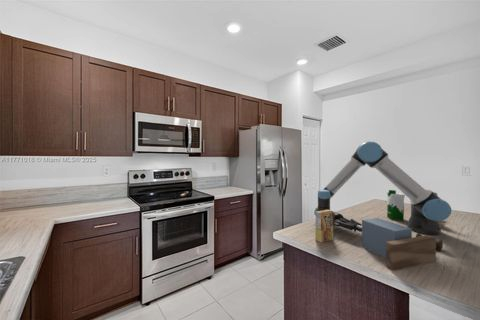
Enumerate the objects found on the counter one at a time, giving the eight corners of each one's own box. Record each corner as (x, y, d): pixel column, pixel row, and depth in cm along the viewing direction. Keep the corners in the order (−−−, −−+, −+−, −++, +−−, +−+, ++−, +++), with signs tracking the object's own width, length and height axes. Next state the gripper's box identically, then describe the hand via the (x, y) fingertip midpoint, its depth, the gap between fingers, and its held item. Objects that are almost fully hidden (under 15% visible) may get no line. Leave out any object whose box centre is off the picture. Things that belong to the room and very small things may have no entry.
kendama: (408, 253, 96) (418, 240, 109) (436, 262, 89) (444, 247, 102) (409, 240, 96) (419, 229, 109) (437, 248, 89) (444, 235, 101)
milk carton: (385, 216, 152) (385, 189, 152) (399, 217, 150) (399, 189, 150) (391, 220, 144) (391, 191, 143) (406, 221, 142) (406, 191, 141)
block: (361, 246, 103) (362, 220, 103) (377, 243, 106) (377, 218, 105) (394, 262, 87) (394, 231, 87) (411, 258, 90) (411, 228, 90)
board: (386, 266, 84) (386, 241, 84) (427, 257, 91) (427, 235, 91) (393, 270, 81) (393, 244, 81) (435, 261, 88) (435, 237, 88)
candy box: (327, 237, 114) (327, 209, 114) (333, 239, 111) (333, 211, 110) (315, 240, 111) (315, 211, 110) (321, 243, 107) (321, 213, 106)
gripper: (343, 223, 129) (378, 238, 106) (325, 225, 125) (358, 241, 102) (343, 211, 129) (378, 223, 106) (325, 213, 125) (358, 225, 102)
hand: (368, 232), depth 104 cm, fingers closed
